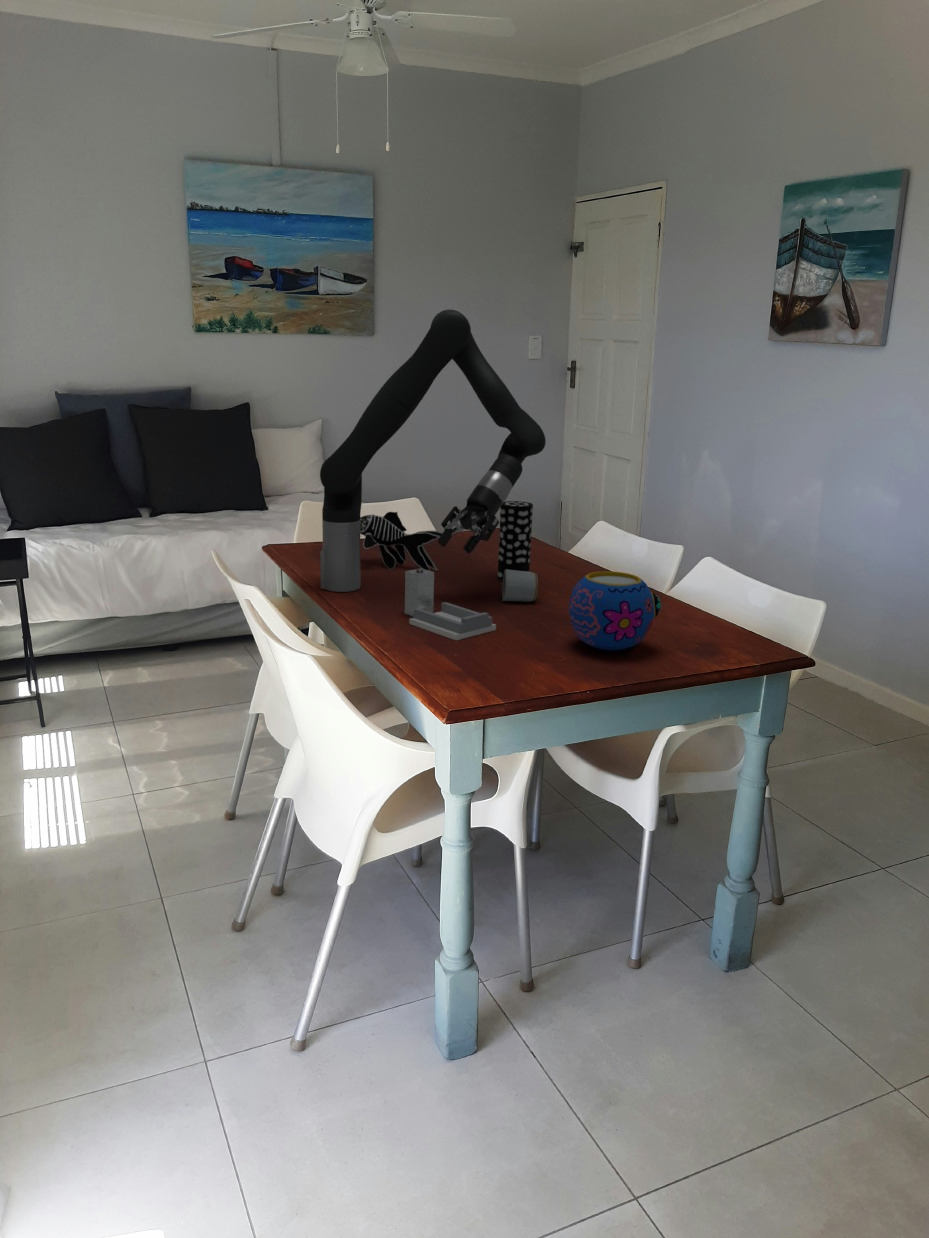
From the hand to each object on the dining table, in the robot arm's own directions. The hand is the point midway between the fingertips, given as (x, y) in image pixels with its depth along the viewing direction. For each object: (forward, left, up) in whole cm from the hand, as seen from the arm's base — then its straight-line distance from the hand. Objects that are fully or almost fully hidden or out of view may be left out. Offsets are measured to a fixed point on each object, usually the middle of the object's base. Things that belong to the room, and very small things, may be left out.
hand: (453, 548), depth 224 cm
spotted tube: (+12, +30, -14) cm, 35 cm away
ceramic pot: (+37, -22, -14) cm, 45 cm away
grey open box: (+3, -16, -14) cm, 21 cm away
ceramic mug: (+15, +11, -14) cm, 23 cm away
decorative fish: (-20, +35, -14) cm, 43 cm away
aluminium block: (-6, -8, -14) cm, 17 cm away
